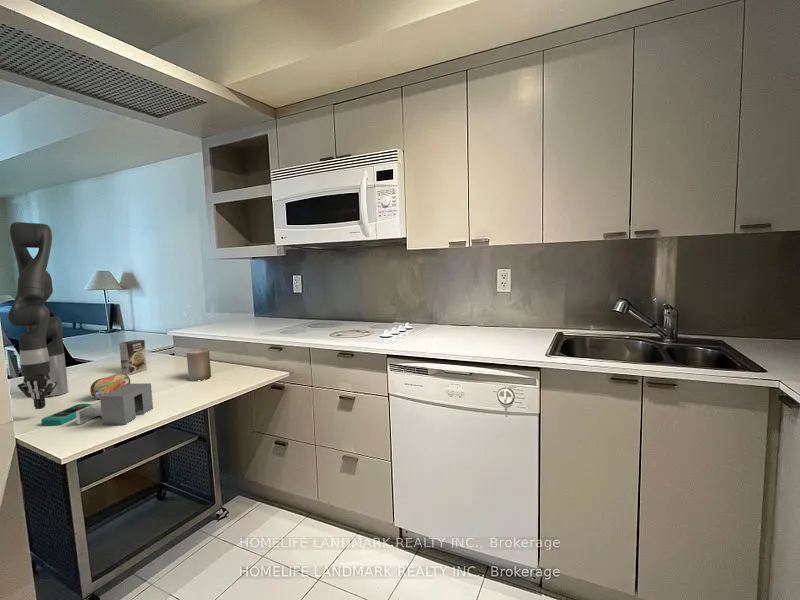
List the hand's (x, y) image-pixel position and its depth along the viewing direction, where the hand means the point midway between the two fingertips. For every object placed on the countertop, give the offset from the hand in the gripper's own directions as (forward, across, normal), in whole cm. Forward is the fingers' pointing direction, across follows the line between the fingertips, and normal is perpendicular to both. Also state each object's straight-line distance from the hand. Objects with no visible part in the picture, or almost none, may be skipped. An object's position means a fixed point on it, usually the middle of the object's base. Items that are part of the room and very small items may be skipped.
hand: (40, 408), depth 138 cm
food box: (+3, +8, -58) cm, 59 cm away
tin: (+4, -8, -23) cm, 25 cm away
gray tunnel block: (+4, -32, 0) cm, 33 cm away
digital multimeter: (+4, -10, 0) cm, 11 cm away
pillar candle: (+3, -33, -46) cm, 57 cm away
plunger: (+3, -26, -4) cm, 26 cm away
